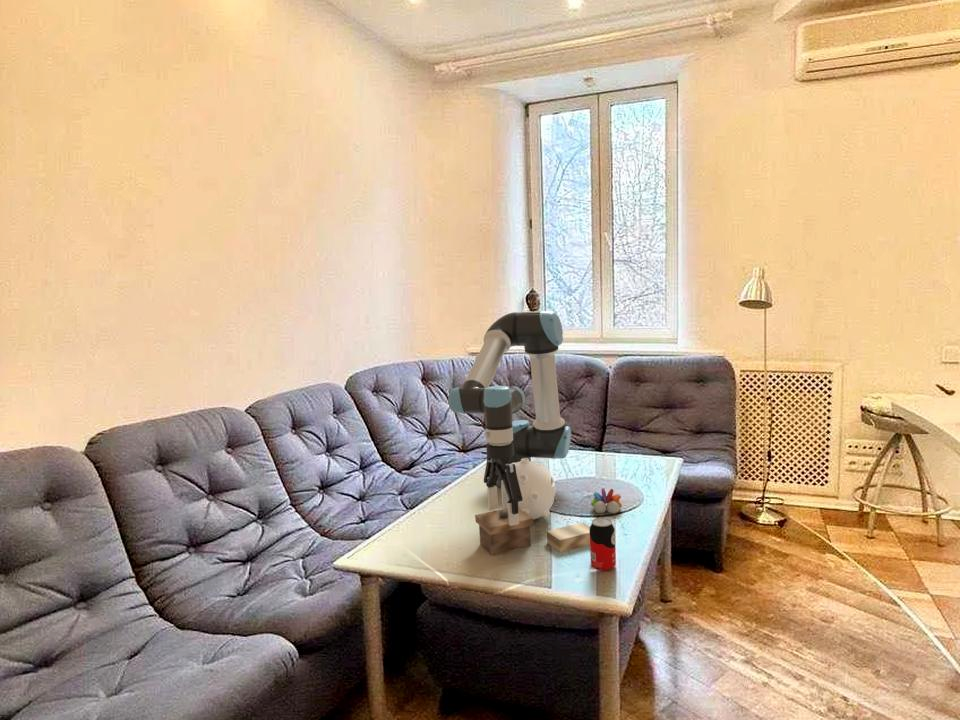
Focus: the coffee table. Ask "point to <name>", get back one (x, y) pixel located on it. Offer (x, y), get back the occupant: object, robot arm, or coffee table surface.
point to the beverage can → (602, 544)
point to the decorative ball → (532, 489)
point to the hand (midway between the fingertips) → (503, 516)
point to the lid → (501, 521)
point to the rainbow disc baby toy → (610, 499)
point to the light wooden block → (569, 537)
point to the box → (505, 540)
